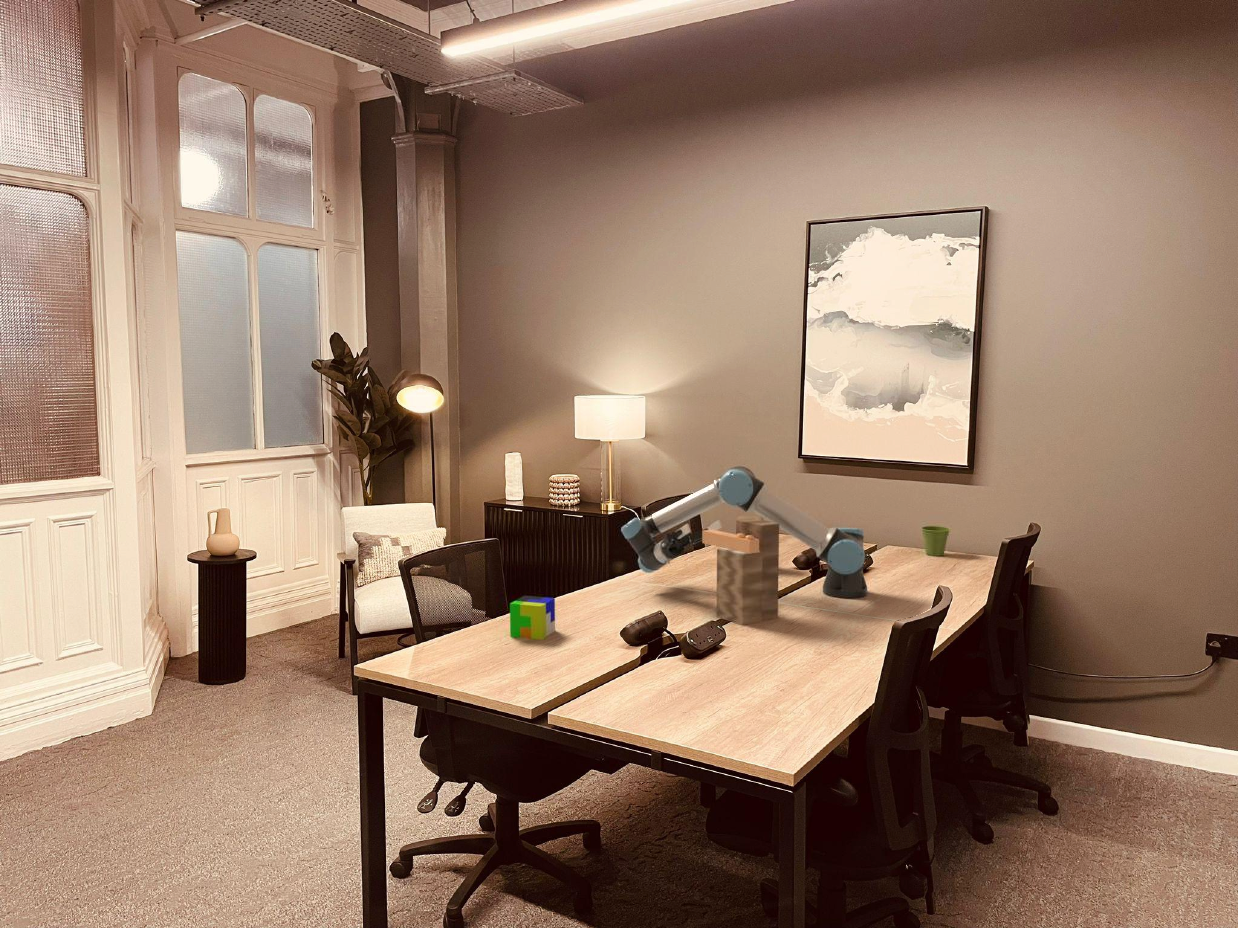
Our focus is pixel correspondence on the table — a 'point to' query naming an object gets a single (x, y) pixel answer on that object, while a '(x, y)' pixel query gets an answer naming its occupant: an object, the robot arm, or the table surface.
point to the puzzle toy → (532, 617)
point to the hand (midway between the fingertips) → (705, 525)
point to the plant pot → (935, 539)
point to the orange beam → (731, 541)
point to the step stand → (749, 576)
